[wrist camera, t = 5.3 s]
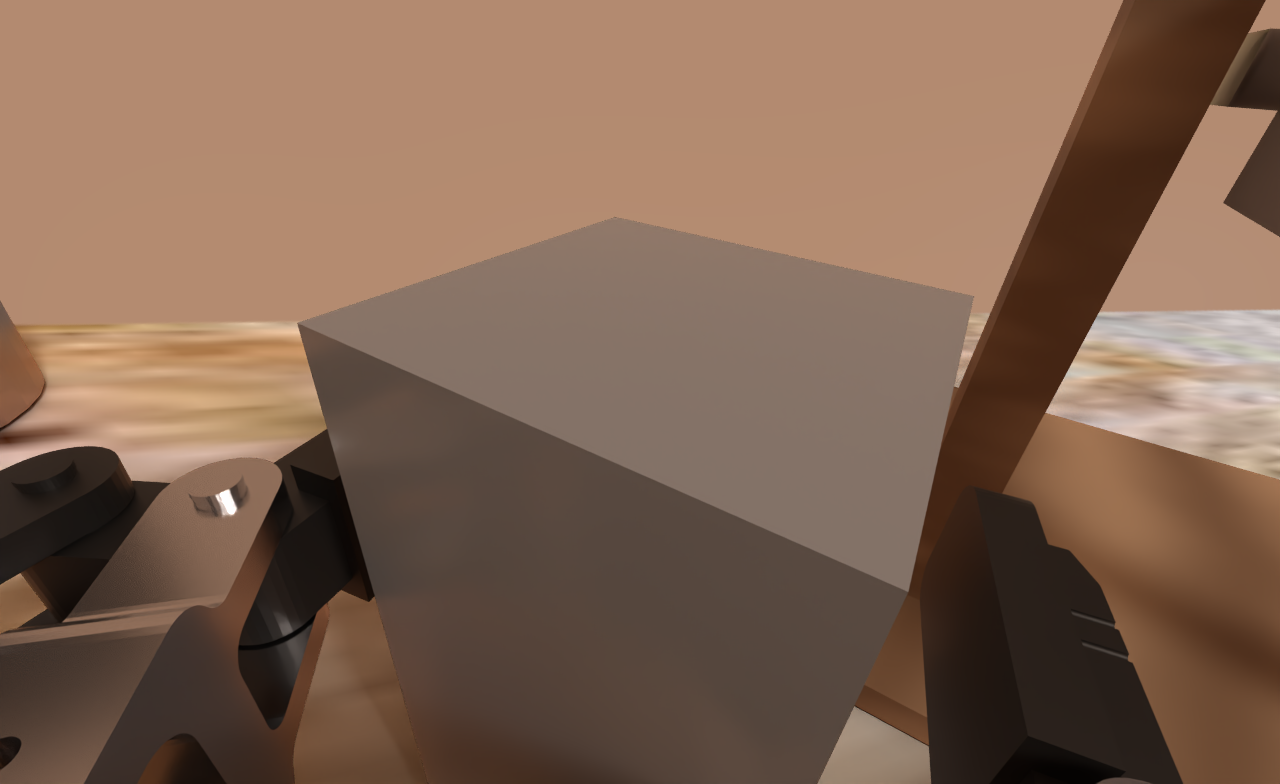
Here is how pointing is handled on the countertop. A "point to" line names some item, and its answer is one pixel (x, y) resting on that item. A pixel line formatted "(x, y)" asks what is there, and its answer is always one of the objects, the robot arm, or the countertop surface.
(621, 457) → the slate block
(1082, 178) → the stand
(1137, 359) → the countertop surface
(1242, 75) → the trapdoor
